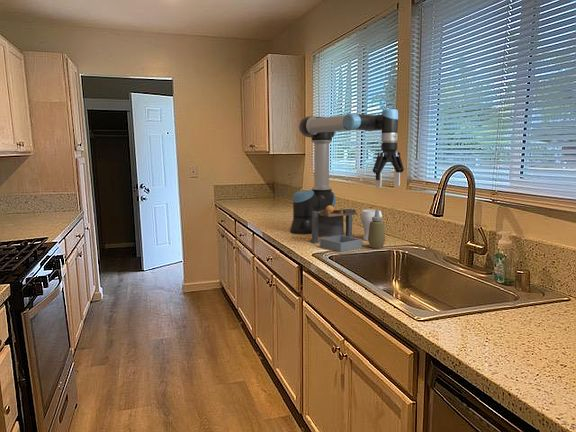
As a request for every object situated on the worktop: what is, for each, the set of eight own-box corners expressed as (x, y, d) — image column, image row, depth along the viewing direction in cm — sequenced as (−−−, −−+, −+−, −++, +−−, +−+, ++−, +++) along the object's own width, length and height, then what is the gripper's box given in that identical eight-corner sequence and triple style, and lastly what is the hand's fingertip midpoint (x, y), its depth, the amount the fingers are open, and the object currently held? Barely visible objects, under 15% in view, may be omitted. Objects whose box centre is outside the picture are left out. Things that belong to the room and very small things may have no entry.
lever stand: (309, 241, 213) (309, 211, 211) (349, 237, 222) (350, 208, 219) (313, 243, 208) (313, 212, 206) (354, 239, 217) (355, 209, 215)
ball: (324, 214, 207) (323, 206, 207) (330, 214, 209) (329, 206, 210) (330, 212, 203) (328, 204, 204) (336, 212, 206) (334, 204, 207)
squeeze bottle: (385, 246, 201) (386, 208, 198) (384, 249, 193) (385, 211, 190) (368, 245, 203) (369, 208, 201) (366, 248, 196) (367, 210, 193)
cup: (381, 241, 210) (382, 212, 208) (360, 241, 212) (360, 211, 210) (381, 237, 220) (382, 209, 218) (360, 237, 223) (361, 209, 220)
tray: (320, 246, 200) (320, 238, 199) (341, 243, 208) (341, 235, 208) (340, 252, 189) (340, 243, 188) (362, 247, 197) (362, 239, 197)
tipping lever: (312, 236, 217) (312, 209, 216) (339, 234, 223) (339, 208, 222) (329, 240, 201) (328, 211, 200) (357, 237, 207) (357, 209, 206)
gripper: (377, 141, 191) (376, 188, 194) (412, 142, 206) (410, 185, 209) (365, 142, 197) (364, 187, 200) (399, 142, 212) (398, 184, 215)
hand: (388, 186), depth 205 cm, fingers open, 13 cm apart
